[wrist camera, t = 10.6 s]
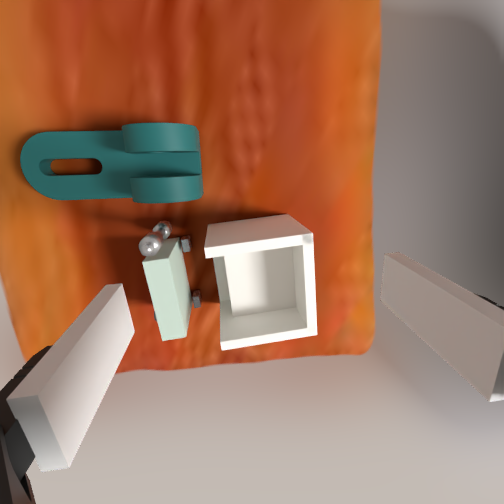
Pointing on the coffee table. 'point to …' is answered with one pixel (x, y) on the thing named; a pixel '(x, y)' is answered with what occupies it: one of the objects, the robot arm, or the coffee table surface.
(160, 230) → the small parts
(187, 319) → the door
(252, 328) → the cabinet
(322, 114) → the coffee table surface
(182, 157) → the bracket
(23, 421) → the robot arm
